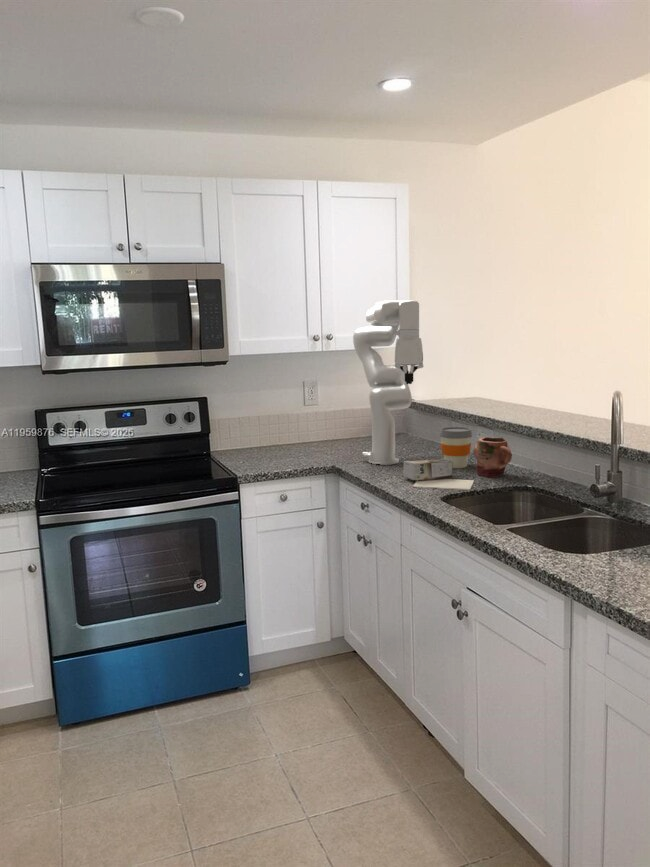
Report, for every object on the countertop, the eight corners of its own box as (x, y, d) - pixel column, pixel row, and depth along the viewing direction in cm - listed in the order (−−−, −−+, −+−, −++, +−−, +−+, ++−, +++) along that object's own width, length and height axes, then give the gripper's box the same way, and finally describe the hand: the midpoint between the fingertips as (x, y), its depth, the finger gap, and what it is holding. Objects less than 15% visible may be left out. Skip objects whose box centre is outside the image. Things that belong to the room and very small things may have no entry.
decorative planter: (524, 478, 263) (525, 441, 261) (500, 482, 257) (501, 444, 255) (486, 469, 280) (487, 434, 278) (463, 472, 274) (463, 437, 272)
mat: (412, 487, 252) (412, 486, 252) (419, 479, 265) (419, 477, 265) (469, 490, 246) (469, 488, 246) (474, 481, 259) (474, 480, 259)
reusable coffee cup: (446, 461, 296) (446, 426, 294) (475, 464, 290) (476, 428, 287) (435, 467, 285) (435, 430, 283) (465, 470, 279) (465, 432, 277)
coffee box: (412, 480, 257) (453, 479, 262) (413, 463, 257) (453, 461, 261) (402, 477, 266) (442, 475, 271) (403, 460, 265) (442, 458, 270)
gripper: (387, 334, 263) (387, 384, 265) (427, 334, 258) (427, 384, 261) (391, 334, 270) (391, 382, 273) (430, 333, 265) (430, 383, 268)
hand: (409, 383), depth 267 cm, fingers closed
